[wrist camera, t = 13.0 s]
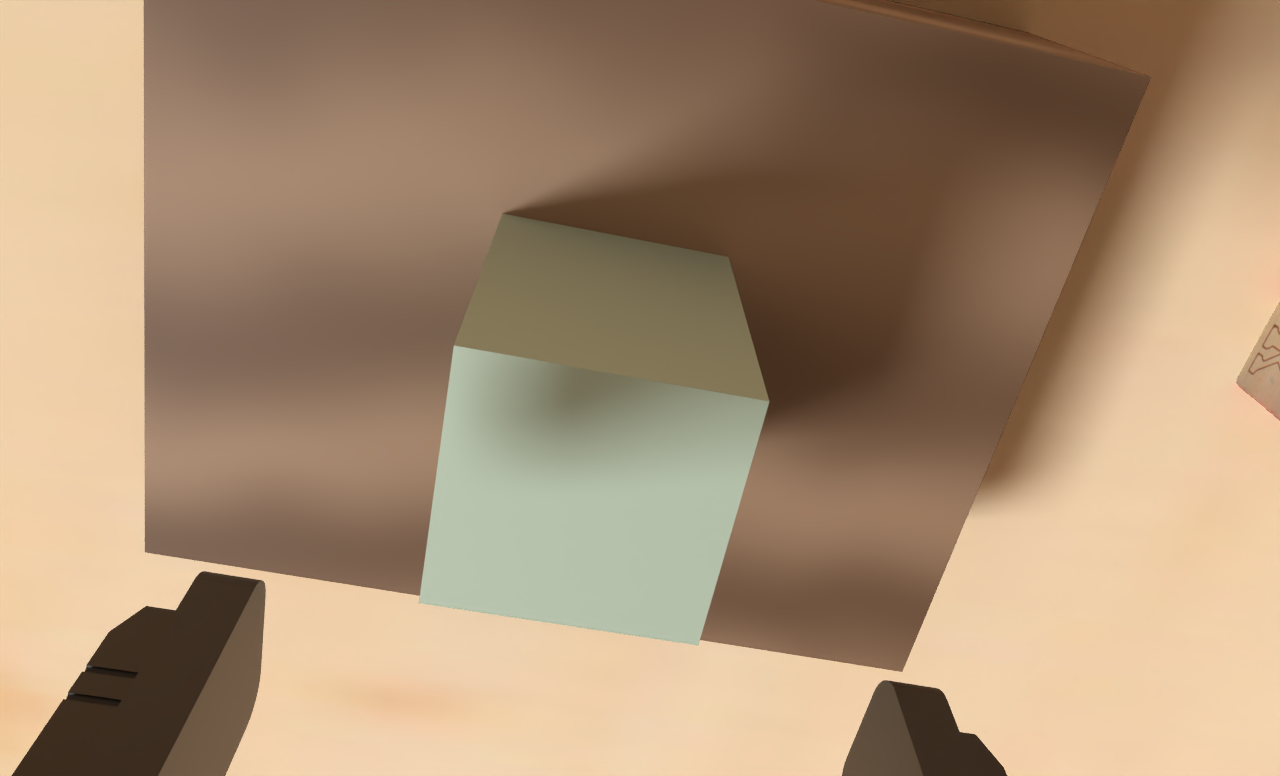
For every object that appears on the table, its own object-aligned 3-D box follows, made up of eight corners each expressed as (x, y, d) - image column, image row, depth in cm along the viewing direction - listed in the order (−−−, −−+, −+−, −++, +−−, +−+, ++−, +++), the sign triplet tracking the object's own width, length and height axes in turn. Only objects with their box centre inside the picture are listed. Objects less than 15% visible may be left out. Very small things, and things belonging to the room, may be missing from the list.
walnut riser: (263, -144, 25) (143, -153, 19) (1028, 32, 27) (1150, 77, 21) (239, 420, 32) (145, 552, 26) (850, 526, 34) (902, 672, 28)
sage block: (502, 213, 22) (453, 345, 16) (728, 256, 22) (769, 401, 16) (472, 415, 24) (419, 603, 18) (679, 451, 25) (697, 645, 18)
